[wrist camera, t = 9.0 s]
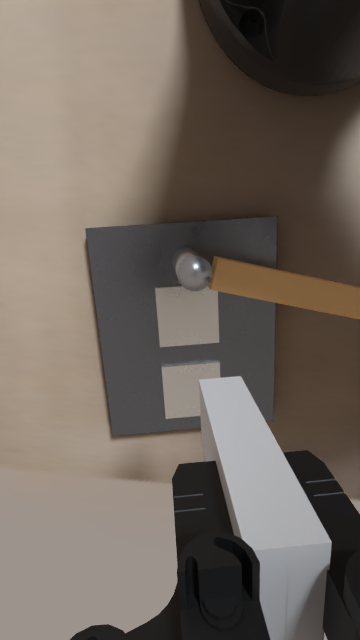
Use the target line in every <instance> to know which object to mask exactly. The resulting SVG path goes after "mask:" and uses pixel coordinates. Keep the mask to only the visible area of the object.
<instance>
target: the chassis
mask: <svg viewBox="0 0 360 640" xmlns="http://www.w3.org/2000/svg"><path fill="white" fill-rule="evenodd" d="M85 230H86V237H87V245H88V252H89V260H90V267H91V275H92V283H93V290H94V298H95V305H96V313H97V320H98V328H99V335H100V343H101V350H102V358H103V366H104V373H105V381H106V388H107V396H108V403H109V411H110V418H111V426H112V433H113V436H119V435H130V434H141V433H152V432H163V431H174V430H184V429H195V428H201V414H200V394H199V380H200V379H212V378H224V377H235V376H241V377H242V379H243V381H244V383H245V385H246V386H247V388H248V390H249V392H250V394H251V396H252V397H253V399H254V401H255V403H256V405H257V407H258V408H259V410H260V412H261V414H262V416H263V417H264V419H265V421H266V422H271V421H273V413H274V361H275V310H276V303H274V302H269V301H264V300H259V299H254V298H249V297H244V296H239V295H234V294H229V293H224V292H219V291H214V290H211V289H210V288H209V287H208V285H209V283H210V282H211V280H212V276H213V271H212V263H213V259H214V256H217V257H222V258H226V259H231V260H236V261H240V262H245V263H250V264H254V265H259V266H264V267H269V268H273V269H276V258H277V217H259V218H243V219H227V220H211V221H195V222H179V223H163V224H147V225H131V226H115V227H99V228H86V229H85Z"/></svg>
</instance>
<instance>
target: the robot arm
mask: <svg viewBox="0 0 360 640" xmlns="http://www.w3.org/2000/svg"><path fill="white" fill-rule="evenodd" d="M199 2H200V5H201V8H202V11H203V13H204V16H205V18H206V21H207V23H208V25H209V27H210V29H211V31H212V33H213V35H214V37H215V38H216V40H217V42H218V43H219V45H220V46H221V48H222V49H223V50H224V52H225V53H226V54H227V56H228V57H229V58H230V59H231V60H232V61H233V62H234V63H235V64H236V65H237V66H238V67H239V68H240V69H241V70H242V71H243V72H245V73H246V74H247V75H248V76H250V77H251V78H253V79H254V80H256V81H257V82H259V83H261V84H263V85H265V86H267V87H269V88H271V89H274V90H277V91H280V92H283V93H287V94H293V95H302V96H313V95H322V94H328V93H332V92H336V91H339V90H342V89H345V88H347V87H349V86H352V85H354V84H356V83H358V82H359V81H360V0H199ZM199 394H200V414H201V435H202V448H203V453H204V458H205V462H196V463H186V464H179V465H178V467H177V469H176V472H175V474H174V476H173V478H172V485H173V500H174V515H175V531H176V546H177V562H178V569H177V577H178V583H177V586H176V589H175V592H174V595H173V597H172V598H171V600H170V602H169V604H168V605H167V606H166V607H165V608H164V609H163V610H162V612H161V613H160V614H159V615H158V616H156V617H154V618H153V619H151V620H150V621H148V622H147V623H145V624H143V625H141V626H139V627H137V628H135V629H133V630H131V631H130V632H127V633H126V634H125V633H124V632H123V630H120V629H118V628H116V627H113V626H111V625H95V626H91V627H89V628H87V629H85V630H83V631H81V632H79V633H77V634H75V635H74V636H73V637H72V638H71V639H70V640H324V632H325V634H326V637H327V639H328V640H360V514H359V513H358V511H357V510H356V508H355V507H354V505H353V504H352V503H351V501H350V500H349V498H348V497H347V495H346V494H344V492H343V490H342V488H341V487H340V485H339V484H338V482H337V481H335V479H334V477H333V475H332V474H331V472H330V471H329V469H328V468H327V467H326V465H325V464H324V462H322V461H321V460H320V459H318V458H317V457H316V456H314V455H313V454H312V453H310V452H309V451H308V450H306V451H296V452H286V453H283V452H282V450H281V449H280V447H279V445H278V443H277V441H276V439H275V438H274V436H273V434H272V432H271V430H270V428H269V427H268V425H267V423H266V421H265V419H264V417H263V416H262V414H261V412H260V410H259V408H258V407H257V405H256V403H255V401H254V399H253V397H252V396H251V394H250V392H249V390H248V388H247V386H246V385H245V383H244V381H243V379H242V377H241V376H235V377H224V378H212V379H200V380H199Z"/></svg>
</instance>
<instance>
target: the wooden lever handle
mask: <svg viewBox="0 0 360 640" xmlns="http://www.w3.org/2000/svg"><path fill="white" fill-rule="evenodd" d="M212 271H213V276H212V280H211V282H210V283H209V285H208V287H209V288H210V289H211V290H214V291H219V292H224V293H229V294H234V295H239V296H244V297H249V298H254V299H259V300H264V301H269V302H274V303H279V304H284V305H289V306H294V307H299V308H304V309H309V310H314V311H319V312H324V313H329V314H334V315H339V316H344V317H349V318H354V319H359V320H360V287H358V286H353V285H348V284H344V283H339V282H334V281H330V280H325V279H320V278H316V277H311V276H306V275H301V274H297V273H292V272H287V271H283V270H278V269H273V268H269V267H264V266H259V265H254V264H250V263H245V262H240V261H236V260H231V259H226V258H222V257H217V256H214V259H213V263H212Z"/></svg>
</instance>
